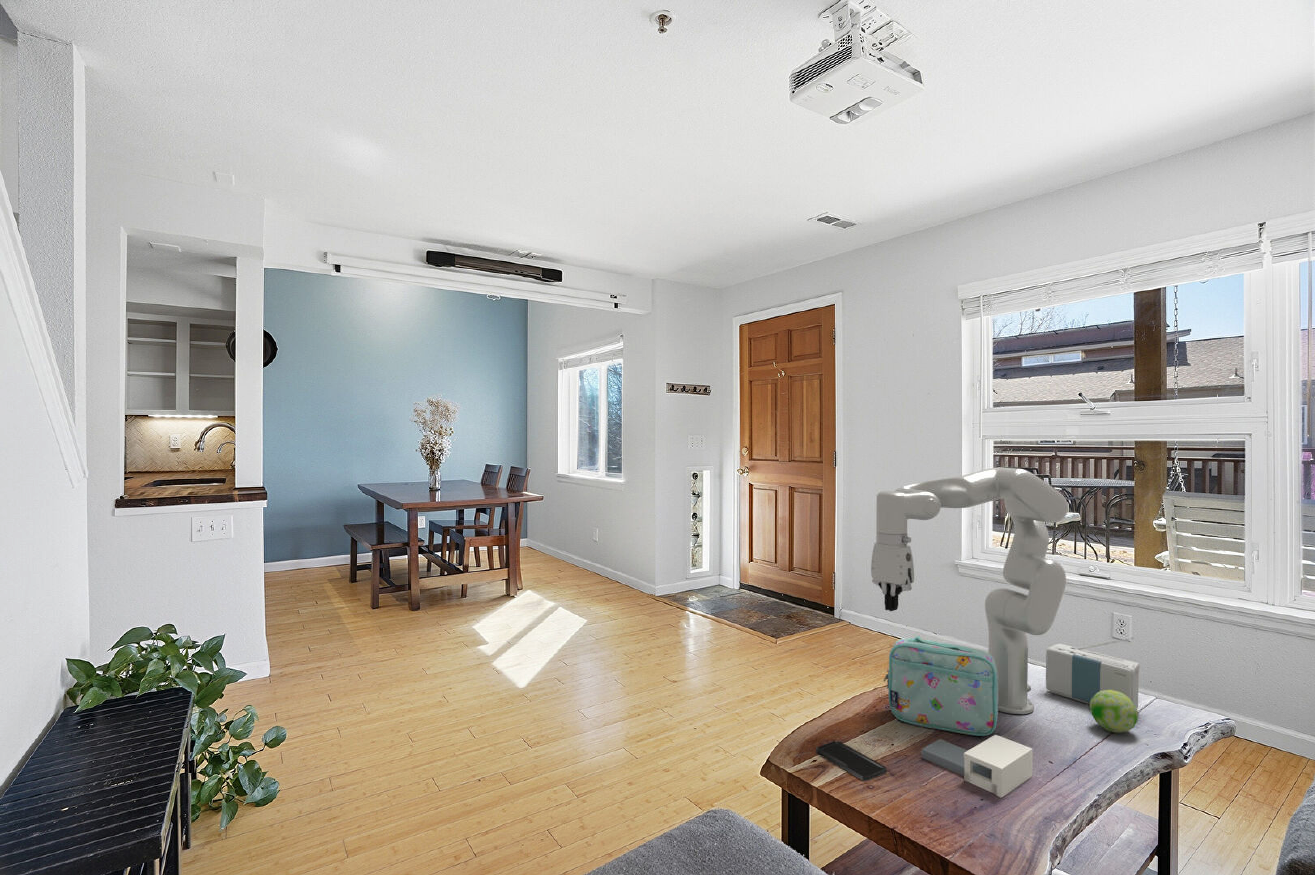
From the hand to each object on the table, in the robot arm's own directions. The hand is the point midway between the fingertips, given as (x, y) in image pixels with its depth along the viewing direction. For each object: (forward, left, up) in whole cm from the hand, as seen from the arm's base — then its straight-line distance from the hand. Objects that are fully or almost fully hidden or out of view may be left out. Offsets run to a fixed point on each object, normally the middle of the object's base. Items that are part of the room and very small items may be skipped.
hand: (891, 609), depth 167 cm
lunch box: (-8, +9, -29) cm, 31 cm away
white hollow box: (+6, +30, -29) cm, 42 cm away
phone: (+26, +7, -29) cm, 40 cm away
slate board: (+7, +23, -29) cm, 38 cm away
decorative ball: (-40, +37, -29) cm, 62 cm away
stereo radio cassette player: (-55, +27, -29) cm, 68 cm away
